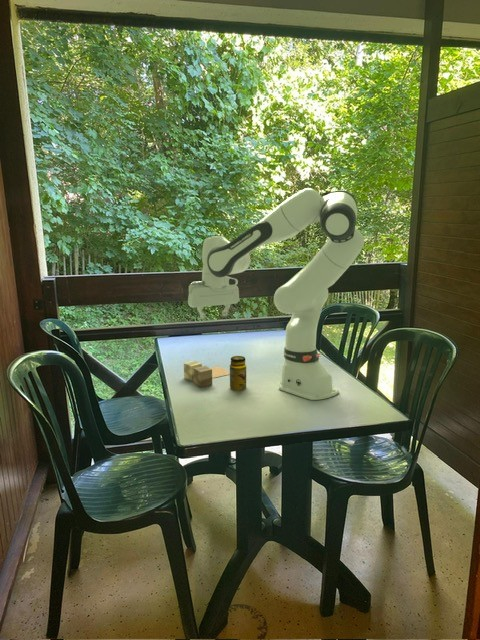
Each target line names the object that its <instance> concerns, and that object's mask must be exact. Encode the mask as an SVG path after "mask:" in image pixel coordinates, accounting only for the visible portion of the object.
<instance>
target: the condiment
mask: <svg viewBox="0 0 480 640" xmlns="http://www.w3.org/2000/svg"><path fill="white" fill-rule="evenodd" d="M229 372H230V375H229V387H230V390H232V391H237V392H238V391H239V392H240V391H243V390H244V391H245V390H246V388H247V364H246V357H245V356H243V355H235V356H234V355H233V356H231V357H230V364H229Z"/></svg>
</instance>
